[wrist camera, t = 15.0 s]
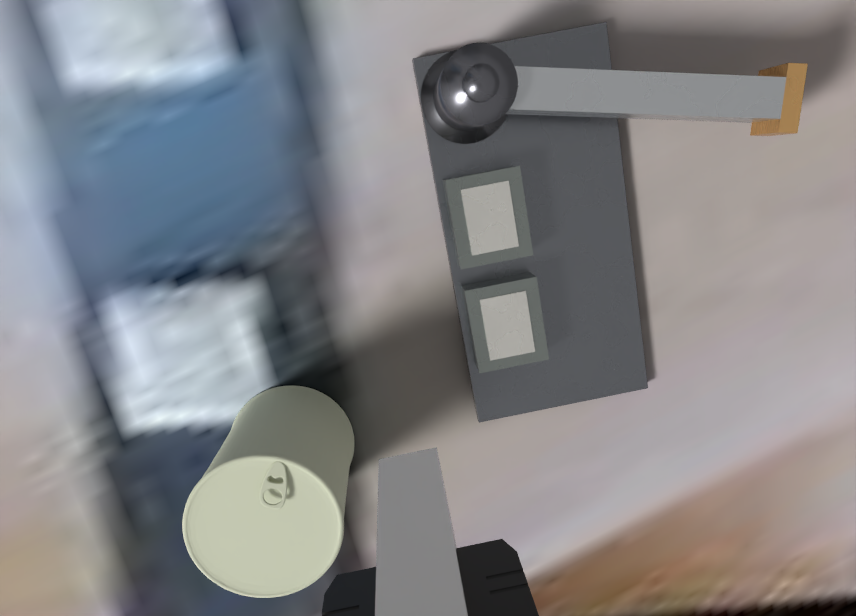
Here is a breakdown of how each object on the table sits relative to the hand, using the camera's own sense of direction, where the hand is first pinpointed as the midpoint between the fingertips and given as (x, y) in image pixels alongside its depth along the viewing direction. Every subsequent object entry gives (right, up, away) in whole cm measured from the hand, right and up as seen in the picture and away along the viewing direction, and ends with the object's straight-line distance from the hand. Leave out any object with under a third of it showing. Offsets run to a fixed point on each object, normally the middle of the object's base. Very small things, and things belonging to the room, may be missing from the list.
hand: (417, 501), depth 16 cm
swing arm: (+12, +19, +25) cm, 34 cm away
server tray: (+8, +10, +28) cm, 31 cm away
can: (-10, -5, +31) cm, 33 cm away
